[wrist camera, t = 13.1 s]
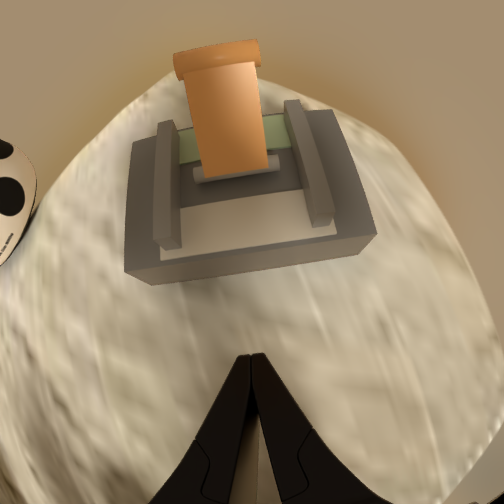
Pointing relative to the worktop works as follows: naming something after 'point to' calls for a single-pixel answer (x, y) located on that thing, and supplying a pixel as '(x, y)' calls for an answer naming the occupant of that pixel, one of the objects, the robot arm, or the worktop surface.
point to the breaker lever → (225, 109)
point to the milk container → (14, 197)
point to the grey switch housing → (244, 203)
